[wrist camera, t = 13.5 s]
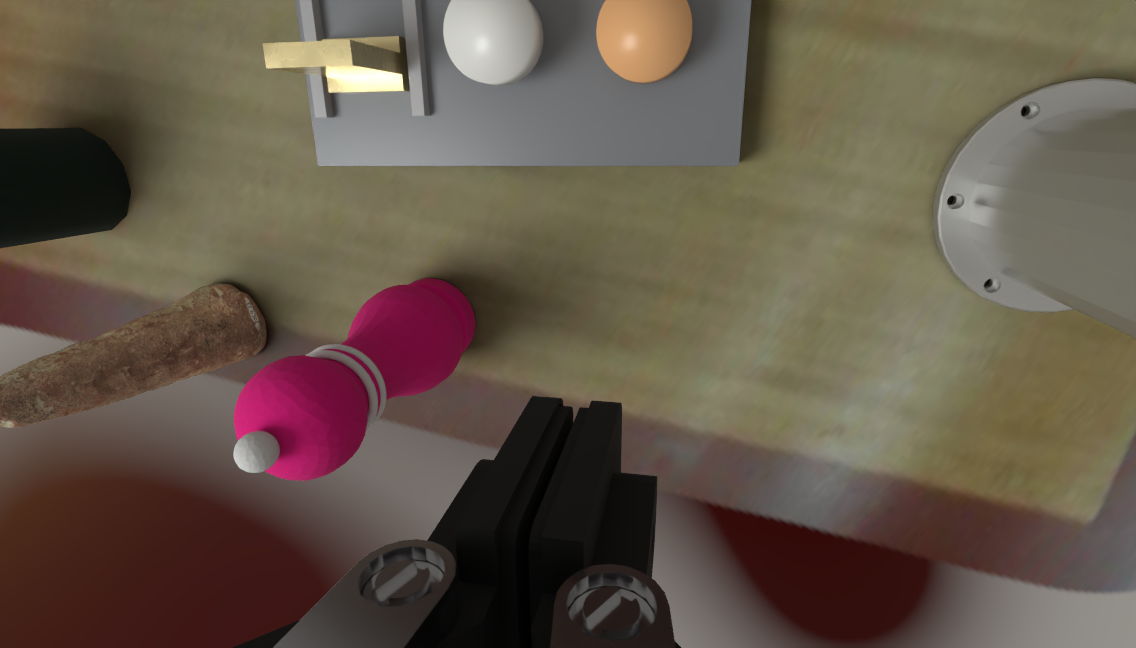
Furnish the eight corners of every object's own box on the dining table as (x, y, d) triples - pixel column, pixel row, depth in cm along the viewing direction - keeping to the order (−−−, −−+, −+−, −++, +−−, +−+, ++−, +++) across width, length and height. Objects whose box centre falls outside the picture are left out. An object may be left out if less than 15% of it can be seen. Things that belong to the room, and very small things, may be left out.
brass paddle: (404, 38, 36) (347, 19, 30) (409, 91, 37) (354, 84, 31) (329, 41, 37) (259, 24, 31) (336, 93, 38) (269, 86, 32)
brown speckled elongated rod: (223, 266, 46) (202, 326, 49) (-83, 322, 30) (-92, 407, 32) (282, 314, 46) (258, 372, 48) (-1, 398, 29) (-15, 480, 32)
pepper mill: (374, 330, 45) (148, 474, 26) (414, 251, 42) (194, 349, 23) (455, 382, 45) (285, 563, 26) (499, 307, 42) (347, 449, 23)
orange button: (694, -19, 32) (695, -28, 30) (689, 82, 33) (689, 80, 31) (601, -13, 32) (596, -22, 31) (601, 85, 34) (596, 82, 32)
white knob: (542, -16, 32) (532, -25, 30) (544, 84, 33) (535, 82, 31) (454, -11, 33) (439, -20, 31) (460, 87, 34) (446, 84, 32)
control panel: (756, -107, 32) (762, -128, 29) (736, 163, 36) (739, 166, 33) (304, -69, 37) (275, -84, 34) (335, 164, 41) (310, 166, 39)
